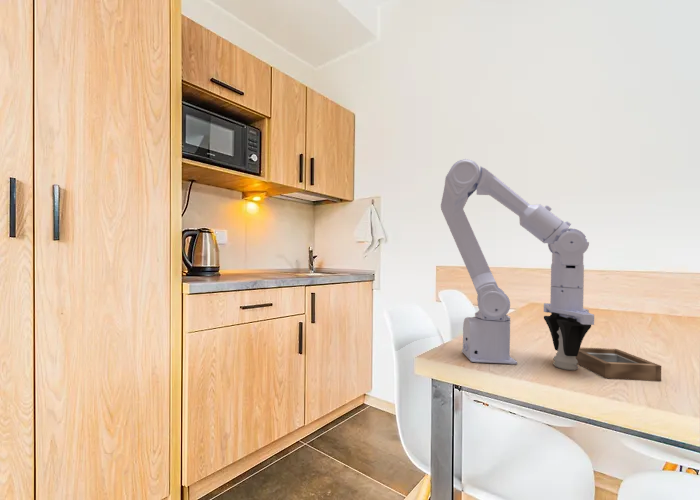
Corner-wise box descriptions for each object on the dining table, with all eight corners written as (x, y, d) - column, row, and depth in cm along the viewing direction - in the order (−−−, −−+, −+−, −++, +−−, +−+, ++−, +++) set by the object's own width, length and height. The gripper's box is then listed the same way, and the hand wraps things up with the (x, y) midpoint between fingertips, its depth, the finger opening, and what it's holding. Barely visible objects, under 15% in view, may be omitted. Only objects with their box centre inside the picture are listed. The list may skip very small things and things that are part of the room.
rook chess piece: (582, 371, 67) (583, 331, 67) (557, 369, 68) (558, 329, 68) (572, 364, 71) (573, 326, 71) (549, 363, 72) (550, 325, 72)
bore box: (604, 378, 64) (605, 363, 64) (569, 359, 75) (569, 346, 75) (661, 380, 63) (661, 365, 63) (616, 361, 74) (616, 348, 74)
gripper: (611, 291, 62) (610, 365, 62) (566, 284, 77) (565, 344, 77) (572, 290, 63) (571, 363, 63) (534, 283, 77) (533, 343, 77)
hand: (565, 353), depth 70 cm, fingers closed on rook chess piece, 3 cm apart
